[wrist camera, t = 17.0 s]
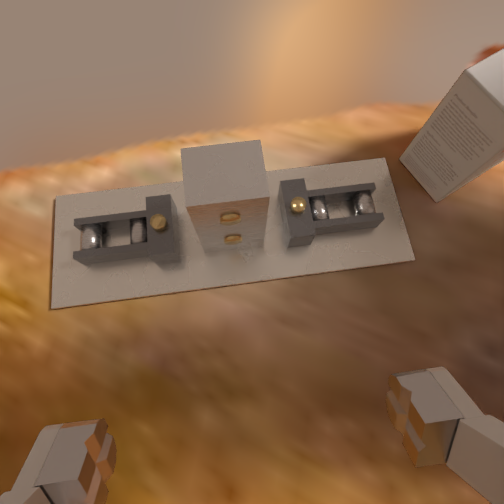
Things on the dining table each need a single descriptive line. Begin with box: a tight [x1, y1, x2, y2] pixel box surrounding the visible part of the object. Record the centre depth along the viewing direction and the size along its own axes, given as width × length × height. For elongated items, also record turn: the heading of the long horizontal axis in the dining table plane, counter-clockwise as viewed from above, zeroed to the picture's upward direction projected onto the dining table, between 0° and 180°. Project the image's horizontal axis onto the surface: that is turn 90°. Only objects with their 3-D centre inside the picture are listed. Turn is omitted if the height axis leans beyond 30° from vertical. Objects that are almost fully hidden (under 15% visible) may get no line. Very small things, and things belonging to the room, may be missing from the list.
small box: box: [399, 48, 504, 202], centre depth 27 cm, size 8×6×10 cm
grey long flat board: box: [51, 158, 415, 309], centre depth 28 cm, size 30×10×4 cm, turn 98°
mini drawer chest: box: [181, 140, 270, 253], centre depth 25 cm, size 5×4×9 cm
